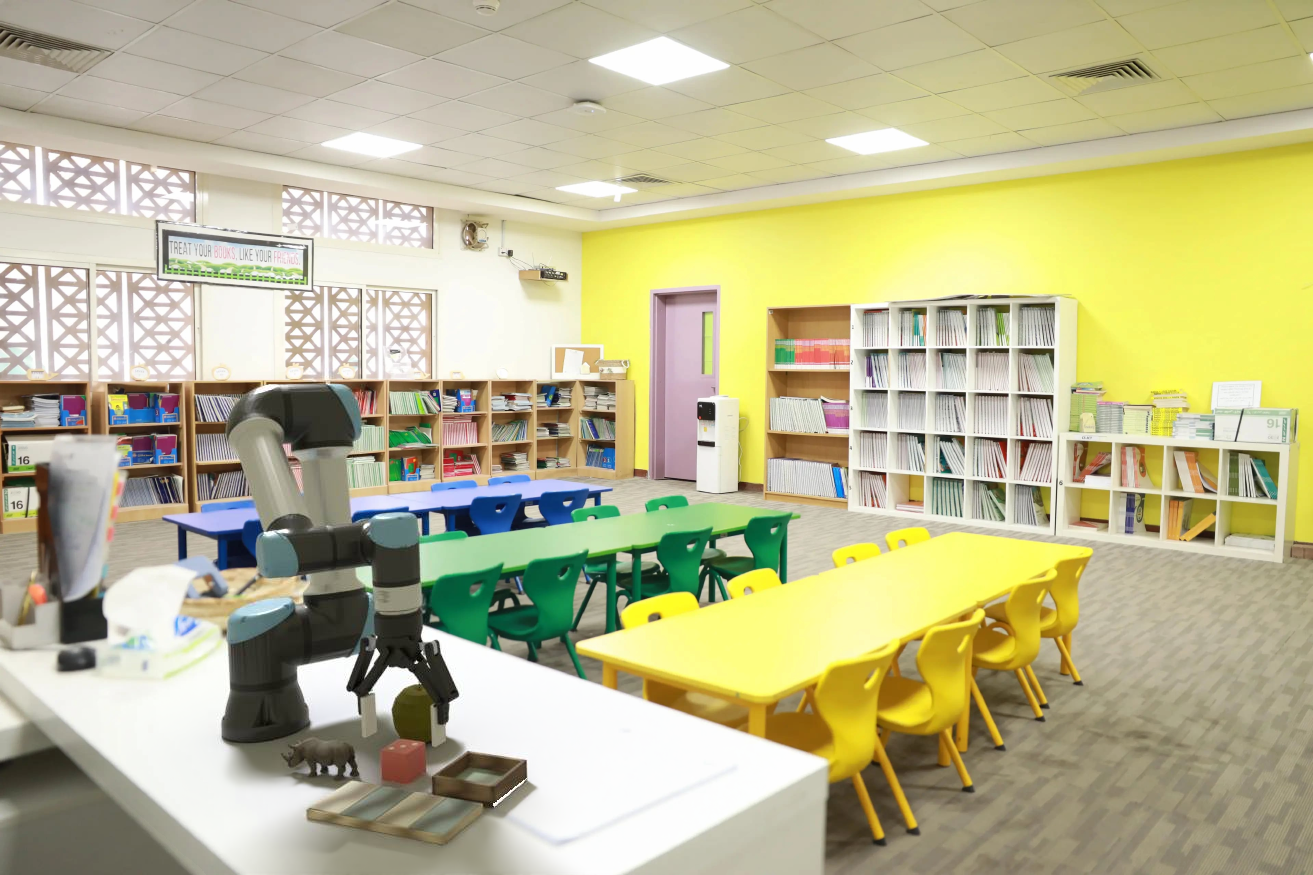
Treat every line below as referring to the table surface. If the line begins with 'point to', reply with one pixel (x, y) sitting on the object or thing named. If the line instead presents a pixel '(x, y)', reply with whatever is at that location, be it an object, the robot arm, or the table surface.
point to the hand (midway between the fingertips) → (403, 738)
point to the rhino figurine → (323, 756)
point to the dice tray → (479, 777)
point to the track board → (396, 811)
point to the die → (403, 761)
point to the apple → (413, 714)
